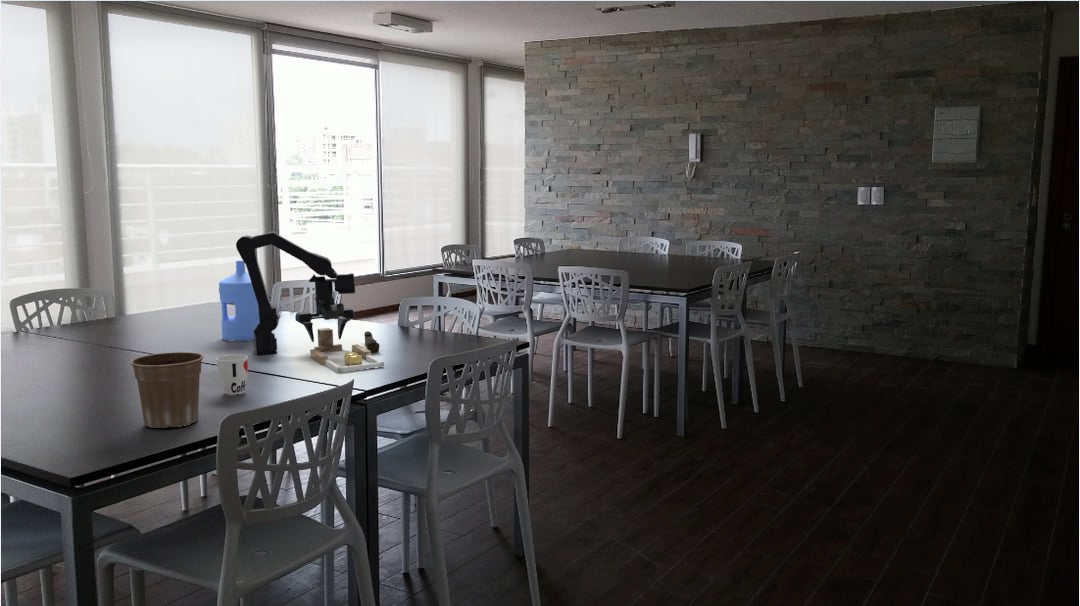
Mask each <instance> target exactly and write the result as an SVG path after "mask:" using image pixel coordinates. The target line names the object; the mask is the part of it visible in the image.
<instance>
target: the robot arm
mask: <svg viewBox="0 0 1080 606" xmlns="http://www.w3.org/2000/svg"><path fill="white" fill-rule="evenodd" d="M270 245H271V246H274V247H275V248H278V249H279V250H281V251H283V252H285V253H286V254H288V255H290V256H292V257H294V258H296V259H297V260H299V261H300V262H302V263H303V264H305V265H306V267H308V268H310V270H312V271H313V272H314V273H315V274H317V275H318V276H316V275H315V274H312V276H311V277H310V278H309V280H308V282H309V283H314V291H315V293H314V294H315V297H314V301H315V309H314V310H315V313H311V312H308V311H300V312H299V311H298V312H296V313H295V321H296V322H298V323H299V324H301V325H303V326H304V328H305V330H306V331H307V334H308V336H309V338H310V341H311V342H312V343H314V341H315V337H314V331H313V330H314V329H313V324H314V323H313V322H312V320H317V319H318V320H319V319H324V320H325V321H330V320H337V336H338V340H341V338H342V336H343V333H344V331H345V330H344V329H345V327H346V325H347V323H348V322H351V320H352V319H355V311H354V310H353V309H352V308H349V307H347V308H346V307H345V308H344V306H345V305H344V304H343V303H342V302H341V303H337V304H336V303H335V298H334V292H336V293H338V295H350V294H353V295H355V294H356V284H355V276H354V275H355V274H354V273H353V272H352V273H343V274H342V273H341V274H338V272H337V271H336V270H335V269H334V268H333V266H332V261H331V260H330V259H329V258H328V257H326V256H323V255H320V254H318V253H314V252H311V251H308V250H307V249H304V248H303V247H301V246H299V245H298V244H296V243H294V242H292V241H290V240H289V239H287V238H285V237H283V236H282V235H279V234H278V233H277V232H276V231H270V232H267V233H262V234H260V235H255V236H251V235H248V234H246V235H242V236H241V237H239V238H238V239H237V241H236V243H235V247H236V250H237V252H238V254H239V256H240V258H241V259H242V261H244V263H245V268H246V270H247V273H248V274H249V277H250V280H251V283H252V286H253V290H254V293H255V296H256V299H257V303H258V308H259V321H260V323H259V324H258V325H257V326H256V328H255V330H254V334H255V335H254V340H253V347H254V349H253V350H252V352H253V353H254V354H255V355H257V356H262V355H272V354H277V353H278V340H277V338H276V335H275V333H273V331H275V330H276V329H277V327H278V326H279V322H280V318H281V314H280V313H279V309H278V305H277V304H275V305H273V304H272V302H271V300H270V297H269V294H268V290H267V287H266V284H265V280H264V277H263V274H262V269H261V268H260V264H259V261H258V249H259V248H264V247H267V246H270ZM326 277H328V278H326ZM333 282H334V285H333ZM333 286H334V287H333ZM333 290H334V291H333Z"/></svg>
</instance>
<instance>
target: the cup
mask: <svg viewBox="0 0 1080 606" xmlns="http://www.w3.org/2000/svg"><path fill="white" fill-rule="evenodd" d="M216 367H217V375H218V378H219V381H220V387H221V388H222V391H223V393H225V394H229V395H228V396H236V395H235V394H239V395H242V393H243V394H244V393H245V390H246V386H247V380H248V372H249V369H248V367H249V365H248V355H247V354H240V353H239V354H225V355H221V356H218V357H216ZM225 394H224V395H225ZM233 394H234V395H233Z"/></svg>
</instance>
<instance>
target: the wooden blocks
mask: <svg viewBox="0 0 1080 606" xmlns="http://www.w3.org/2000/svg"><path fill="white" fill-rule="evenodd" d="M351 351H352V352H355V353H357V354H358V355H362V359H363V358H364V360H366V355H371V356H372V353H371V351H370V350H368V349H367V347H366V348H365V347H363V346H361V345H360V344H351ZM309 352H310V353H309V354H310V359H313V360H314V361H316V362H317V363H319V364H320V365H323V366H324V365H326V363H325V360H329V355H327V354H325V352H320V351H319V350H317V349H314V348H313V349H309Z"/></svg>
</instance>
